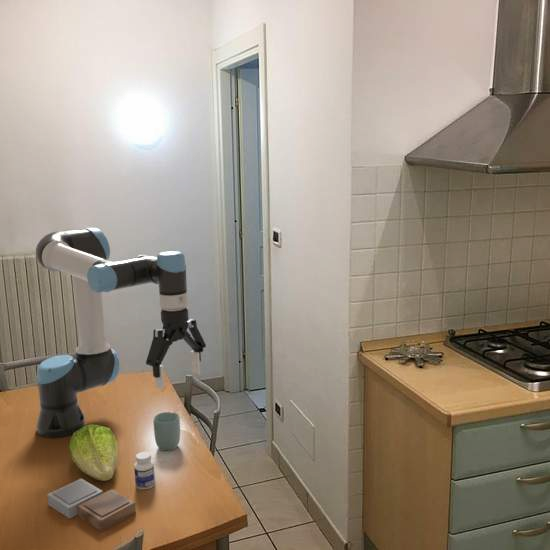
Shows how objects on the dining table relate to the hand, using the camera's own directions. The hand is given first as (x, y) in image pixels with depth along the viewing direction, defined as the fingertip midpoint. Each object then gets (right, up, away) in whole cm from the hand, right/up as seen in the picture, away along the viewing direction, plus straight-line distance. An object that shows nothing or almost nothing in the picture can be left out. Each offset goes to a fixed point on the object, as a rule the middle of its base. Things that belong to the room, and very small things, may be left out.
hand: (178, 380), depth 179 cm
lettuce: (-24, -26, +3) cm, 35 cm away
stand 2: (-15, -31, -20) cm, 39 cm away
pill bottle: (-8, -28, -6) cm, 30 cm away
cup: (-5, -23, +15) cm, 28 cm away
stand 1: (-24, -30, -14) cm, 41 cm away
